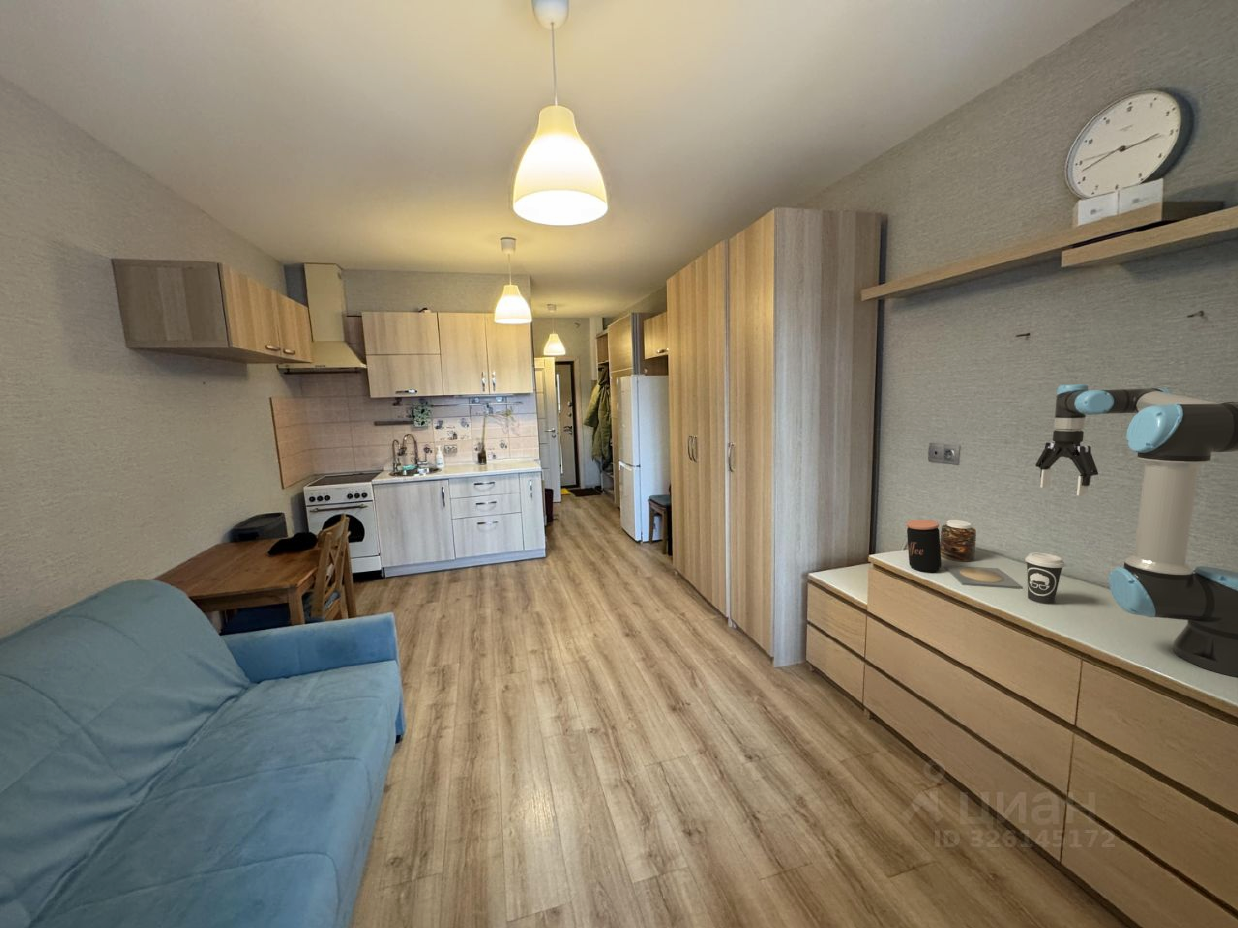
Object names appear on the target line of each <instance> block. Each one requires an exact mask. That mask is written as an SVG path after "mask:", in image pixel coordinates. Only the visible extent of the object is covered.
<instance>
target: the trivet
mask: <svg viewBox="0 0 1238 928" xmlns="http://www.w3.org/2000/svg"><path fill="white" fill-rule="evenodd" d="M943 568H944V569H945V570H946V571H947V572H949V574H950V575H952V577H954V578H955V579H956V581H958V582H959V583H960V584H961V585H963V586H975V587H991V588H1003V589H1007V588H1008V589H1018V590H1020V589H1023V590H1024V586H1023V585H1022V584H1020V583H1019V582H1017V581H1016V580H1014V579H1013V578H1012V577H1010V575H1008V574H1007V573H1005V571H1002V570H1001V569H1000V568H998V567H982V566H966V565H964V566H963V565H949V564H947V565H946V564H944V565H943Z"/></svg>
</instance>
